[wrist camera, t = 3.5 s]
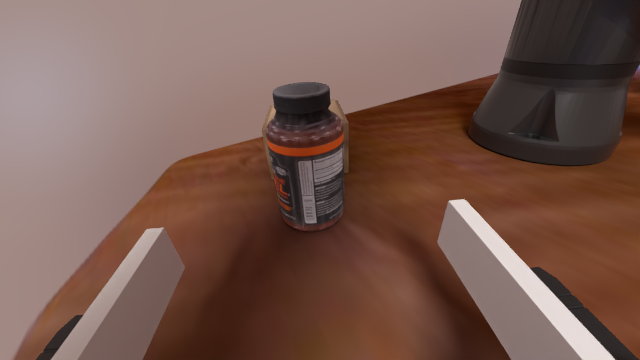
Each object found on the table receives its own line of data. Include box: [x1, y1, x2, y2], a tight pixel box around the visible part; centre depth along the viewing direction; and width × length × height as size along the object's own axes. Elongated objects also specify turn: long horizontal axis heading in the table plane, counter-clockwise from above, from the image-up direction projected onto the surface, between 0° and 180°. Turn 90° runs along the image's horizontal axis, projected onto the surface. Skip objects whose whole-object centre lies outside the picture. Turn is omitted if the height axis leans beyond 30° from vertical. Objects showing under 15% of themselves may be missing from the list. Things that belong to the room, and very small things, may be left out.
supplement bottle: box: [266, 82, 344, 231], centre depth 20 cm, size 6×6×11 cm
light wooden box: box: [262, 99, 349, 180], centre depth 31 cm, size 9×9×6 cm
